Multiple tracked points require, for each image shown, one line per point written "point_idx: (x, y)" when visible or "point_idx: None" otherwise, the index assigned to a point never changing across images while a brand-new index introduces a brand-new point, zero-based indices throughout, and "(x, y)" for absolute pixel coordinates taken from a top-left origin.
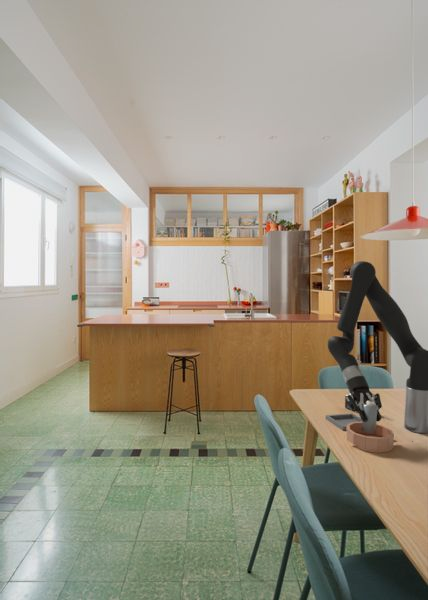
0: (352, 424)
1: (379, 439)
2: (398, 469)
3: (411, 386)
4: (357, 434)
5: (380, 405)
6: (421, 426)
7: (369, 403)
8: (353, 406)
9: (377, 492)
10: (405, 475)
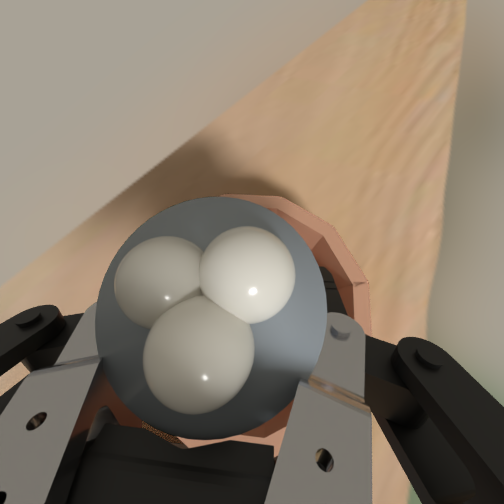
0: (284, 425)
1: (275, 197)
2: (294, 122)
3: None
4: (355, 265)
5: (22, 320)
6: None
7: (268, 241)
8: (418, 466)
9: (430, 53)
10: (300, 95)
